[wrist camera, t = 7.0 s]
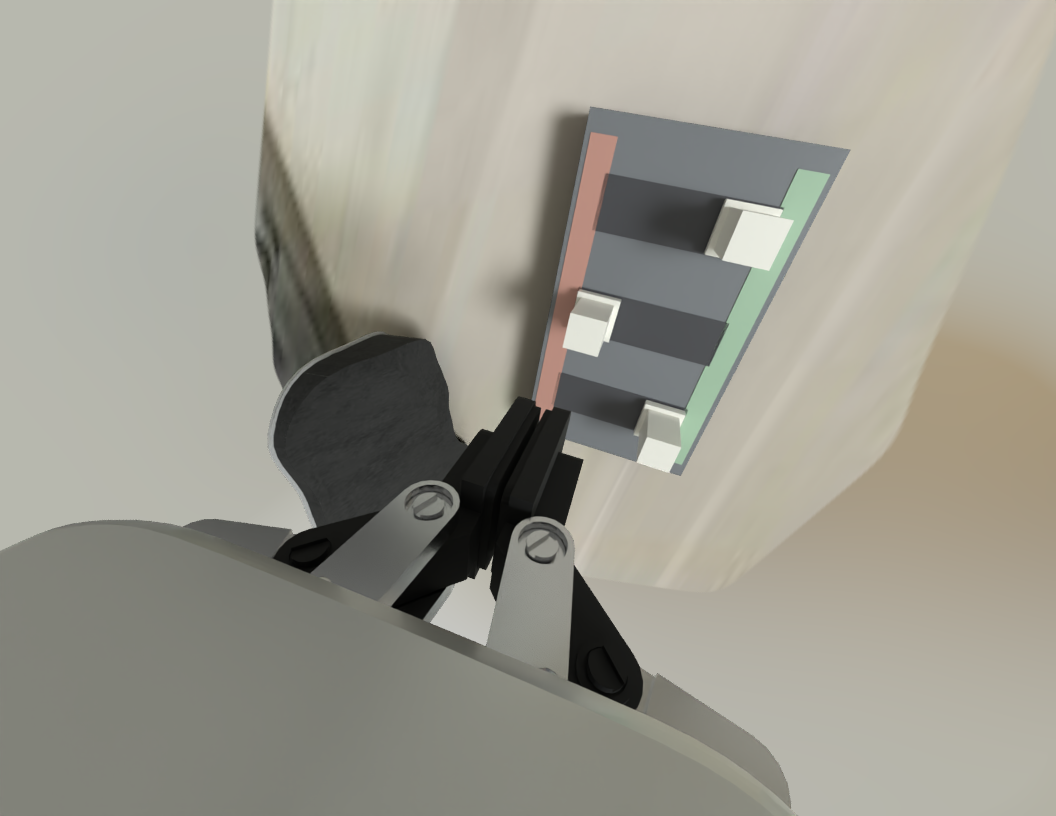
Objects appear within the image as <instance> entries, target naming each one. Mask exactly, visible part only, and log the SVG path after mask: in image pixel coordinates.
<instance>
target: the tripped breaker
mask: <svg viewBox="0 0 1056 816" xmlns="http://www.w3.org/2000/svg"><path fill="white" fill-rule="evenodd" d="M621 300H622V299H618V298H614V297H610V296H606V295H602V294H598V293H594V292H590V291H586V290H582V289H579V291H578V294H577V298H576V302H575V307H574V309H573V310H572V311H571V313H570V317H569V321H568V326H567V330H566V334H565V339H564V343H563V348H566V349H570V350H574V351H577V352H581V353H585V354H588V355H592V356H595V357H598V354H599V352H600V349H601V346H602V344H603V341H605V342H608V343H609V340H610V336H611V333H612V330H613V327H614V323H615V320H616V317H617V313H618V310H619V307H620V303H621Z"/></svg>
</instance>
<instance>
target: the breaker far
mask: <svg viewBox="0 0 1056 816" xmlns="http://www.w3.org/2000/svg"><path fill="white" fill-rule="evenodd" d="M685 416H686V414H685V411H683V410H680V409H676V408H673V407H670V406H666V405H663V404H659V403H656V402H652V401H649V400H646V401H645V404H644V406H643V409H642V411H641V414H640V416H639V419H638V422H637V424H636V427H635V429H634V435H635V436H638V437H639V439H638V450H637V461H636V463H639V464H642V465H646V466H649V467H652V468H655V469H658V470H661V471H664V472H668V473H669V472H670V470H671V468H672V466H673V464H674V462H675V460H676V458H677V456H678V454H679V452H680V450H681V448H682V447H681V434H680V427H681V424H682V422H683V420H684V418H685Z"/></svg>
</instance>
